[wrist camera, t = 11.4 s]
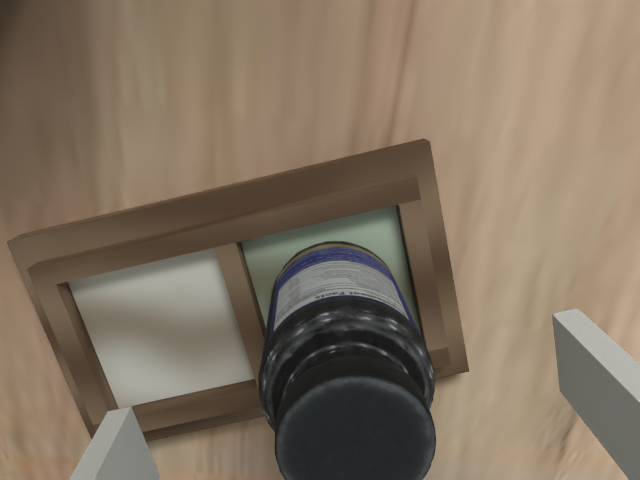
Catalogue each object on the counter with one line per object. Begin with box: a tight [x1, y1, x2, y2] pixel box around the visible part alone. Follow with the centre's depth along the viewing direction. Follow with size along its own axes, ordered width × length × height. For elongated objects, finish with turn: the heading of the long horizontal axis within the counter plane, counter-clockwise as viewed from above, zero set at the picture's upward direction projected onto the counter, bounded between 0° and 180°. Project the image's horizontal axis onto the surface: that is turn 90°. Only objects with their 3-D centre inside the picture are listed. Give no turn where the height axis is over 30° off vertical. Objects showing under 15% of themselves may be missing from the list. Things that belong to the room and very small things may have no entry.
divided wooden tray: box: [7, 139, 469, 442], centre depth 26 cm, size 12×20×2 cm, turn 103°
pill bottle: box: [258, 241, 436, 480], centre depth 20 cm, size 6×6×11 cm
